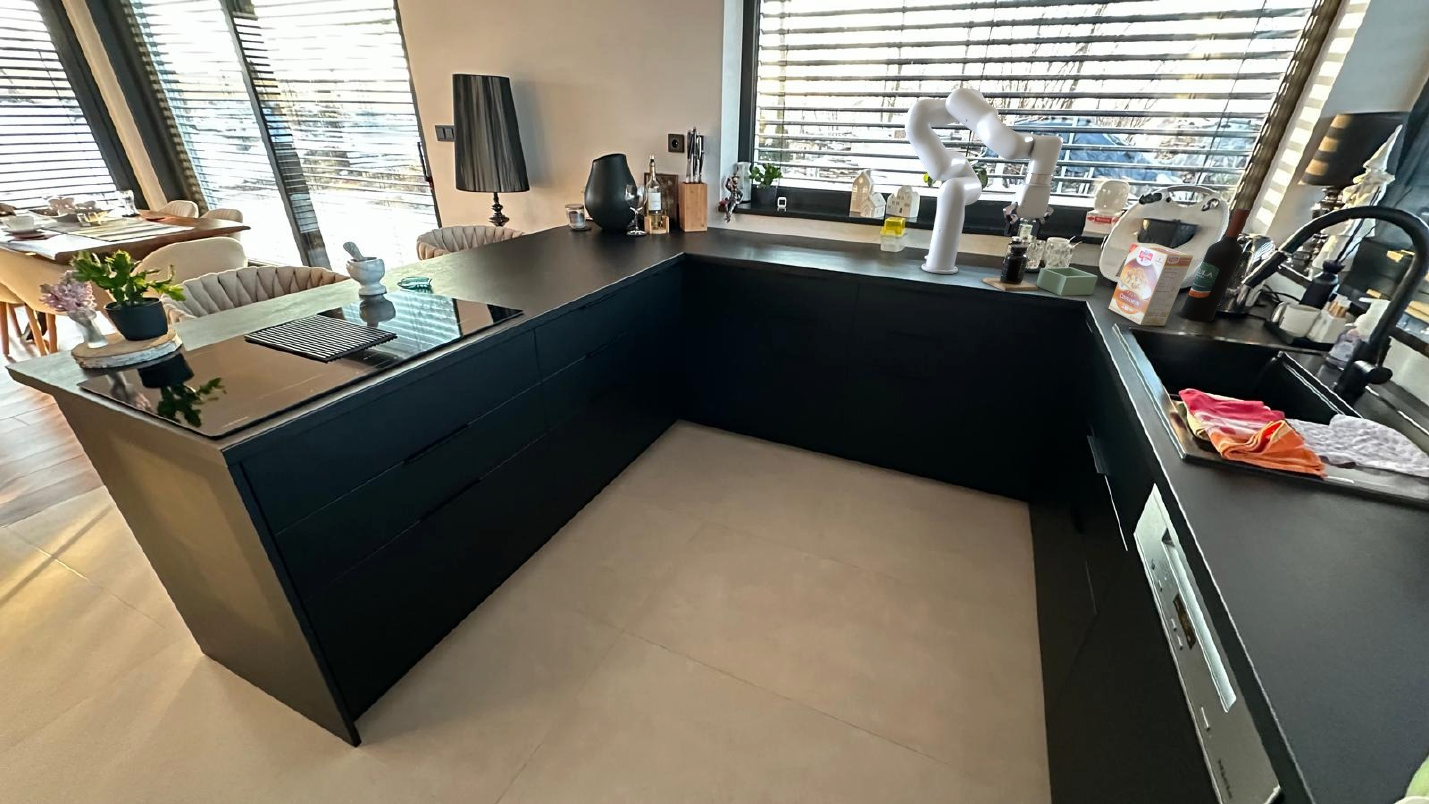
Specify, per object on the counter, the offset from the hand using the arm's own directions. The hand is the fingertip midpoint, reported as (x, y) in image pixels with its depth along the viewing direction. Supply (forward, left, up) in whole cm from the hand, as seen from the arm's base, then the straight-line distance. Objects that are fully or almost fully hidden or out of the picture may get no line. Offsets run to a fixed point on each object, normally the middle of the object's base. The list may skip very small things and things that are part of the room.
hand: (1020, 235), depth 180 cm
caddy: (+8, +15, -16) cm, 24 cm away
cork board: (+1, 0, -16) cm, 16 cm away
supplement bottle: (+1, 0, -15) cm, 15 cm away
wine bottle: (+38, +34, -16) cm, 53 cm away
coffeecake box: (+35, +16, -16) cm, 42 cm away
